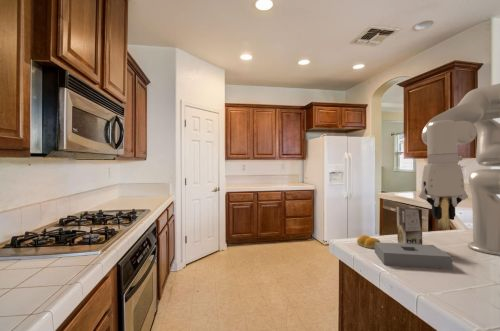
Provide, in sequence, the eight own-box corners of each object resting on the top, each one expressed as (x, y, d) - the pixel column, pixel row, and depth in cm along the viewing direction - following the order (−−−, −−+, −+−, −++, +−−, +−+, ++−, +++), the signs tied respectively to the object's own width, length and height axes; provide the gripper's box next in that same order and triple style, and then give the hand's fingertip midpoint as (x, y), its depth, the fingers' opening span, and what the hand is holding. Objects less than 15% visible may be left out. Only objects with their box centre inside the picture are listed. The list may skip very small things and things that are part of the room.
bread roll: (373, 250, 99) (373, 240, 99) (354, 244, 107) (353, 235, 107) (385, 246, 104) (385, 237, 104) (365, 241, 111) (365, 232, 111)
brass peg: (446, 227, 79) (445, 196, 79) (452, 230, 76) (451, 197, 76) (435, 227, 79) (435, 196, 80) (441, 229, 77) (440, 197, 77)
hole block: (433, 255, 92) (433, 245, 92) (451, 269, 80) (451, 256, 80) (374, 252, 96) (374, 242, 96) (384, 264, 85) (383, 252, 85)
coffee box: (423, 250, 98) (422, 209, 98) (405, 249, 100) (404, 209, 100) (413, 242, 107) (412, 205, 107) (396, 242, 109) (396, 205, 109)
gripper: (464, 159, 80) (465, 217, 80) (408, 161, 83) (409, 215, 83) (481, 159, 72) (482, 222, 72) (418, 160, 76) (419, 220, 76)
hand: (443, 218), depth 78 cm, fingers closed on brass peg, 3 cm apart
